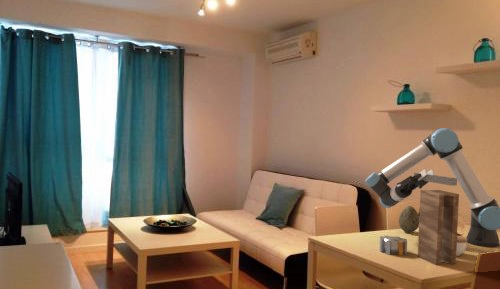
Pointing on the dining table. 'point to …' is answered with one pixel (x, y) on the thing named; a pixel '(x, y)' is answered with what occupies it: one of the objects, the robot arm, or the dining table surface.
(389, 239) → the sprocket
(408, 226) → the decorative egg
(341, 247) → the dining table surface
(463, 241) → the lidded jar
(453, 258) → the tall wooden pillar
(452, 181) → the steel bar
